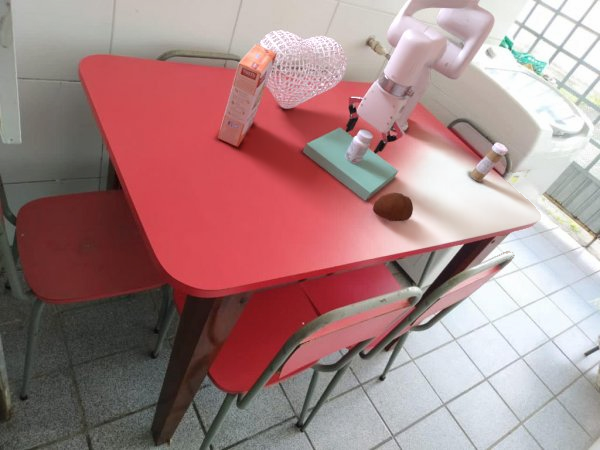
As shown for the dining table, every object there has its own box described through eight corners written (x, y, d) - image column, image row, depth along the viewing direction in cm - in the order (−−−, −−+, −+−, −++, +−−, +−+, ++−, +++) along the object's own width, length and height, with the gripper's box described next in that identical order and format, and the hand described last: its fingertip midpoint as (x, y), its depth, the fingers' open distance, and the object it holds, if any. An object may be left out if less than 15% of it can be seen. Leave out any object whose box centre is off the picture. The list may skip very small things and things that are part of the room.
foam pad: (335, 135, 125) (340, 127, 123) (393, 178, 119) (398, 170, 117) (302, 152, 112) (306, 143, 110) (365, 201, 107) (370, 193, 105)
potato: (412, 228, 106) (429, 207, 100) (376, 229, 100) (392, 206, 95) (398, 207, 110) (414, 186, 105) (364, 206, 105) (378, 184, 99)
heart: (308, 94, 137) (335, 29, 122) (332, 122, 129) (364, 56, 115) (234, 91, 121) (254, 16, 106) (257, 124, 113) (282, 48, 98)
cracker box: (238, 148, 103) (262, 73, 89) (216, 139, 102) (237, 61, 88) (254, 123, 113) (278, 52, 99) (234, 114, 112) (255, 41, 99)
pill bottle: (362, 159, 114) (376, 135, 109) (357, 166, 111) (371, 141, 105) (347, 150, 115) (361, 126, 109) (342, 157, 111) (355, 132, 106)
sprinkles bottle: (475, 173, 141) (501, 142, 132) (483, 182, 139) (511, 151, 130) (466, 173, 139) (493, 141, 130) (475, 182, 136) (502, 151, 127)
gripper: (429, 101, 98) (394, 155, 110) (372, 62, 102) (344, 119, 114) (417, 108, 93) (381, 164, 105) (358, 67, 97) (330, 126, 109)
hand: (362, 140), depth 110 cm, fingers open, 9 cm apart
